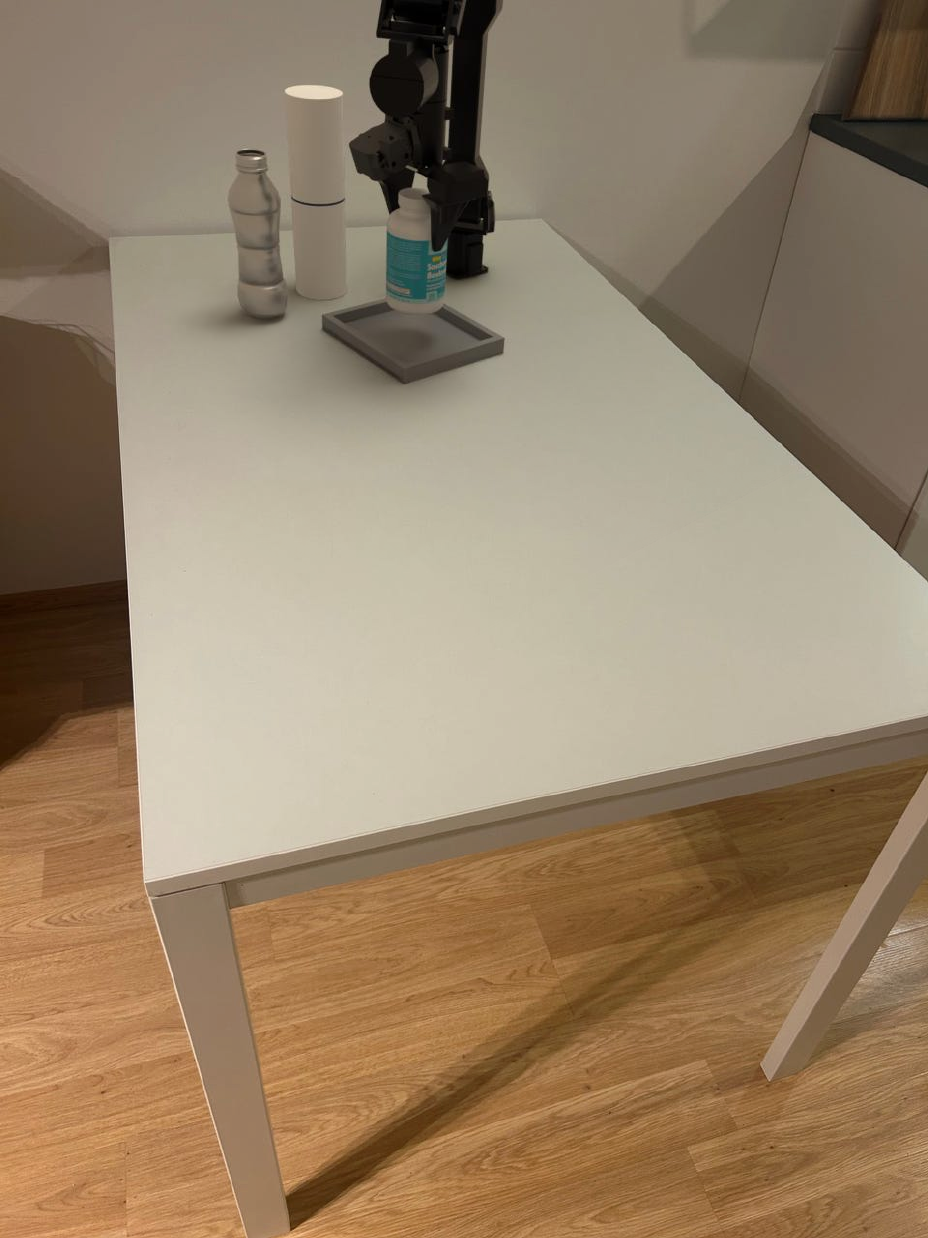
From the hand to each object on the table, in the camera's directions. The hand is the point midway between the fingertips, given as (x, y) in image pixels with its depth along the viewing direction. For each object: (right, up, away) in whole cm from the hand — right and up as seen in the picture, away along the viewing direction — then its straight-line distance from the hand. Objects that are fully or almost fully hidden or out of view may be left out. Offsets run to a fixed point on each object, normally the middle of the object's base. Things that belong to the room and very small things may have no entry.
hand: (417, 240), depth 113 cm
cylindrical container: (-15, +1, +19) cm, 24 cm away
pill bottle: (-1, -6, +5) cm, 8 cm away
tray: (-1, -10, +9) cm, 13 cm away
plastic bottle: (-21, -5, +12) cm, 25 cm away
